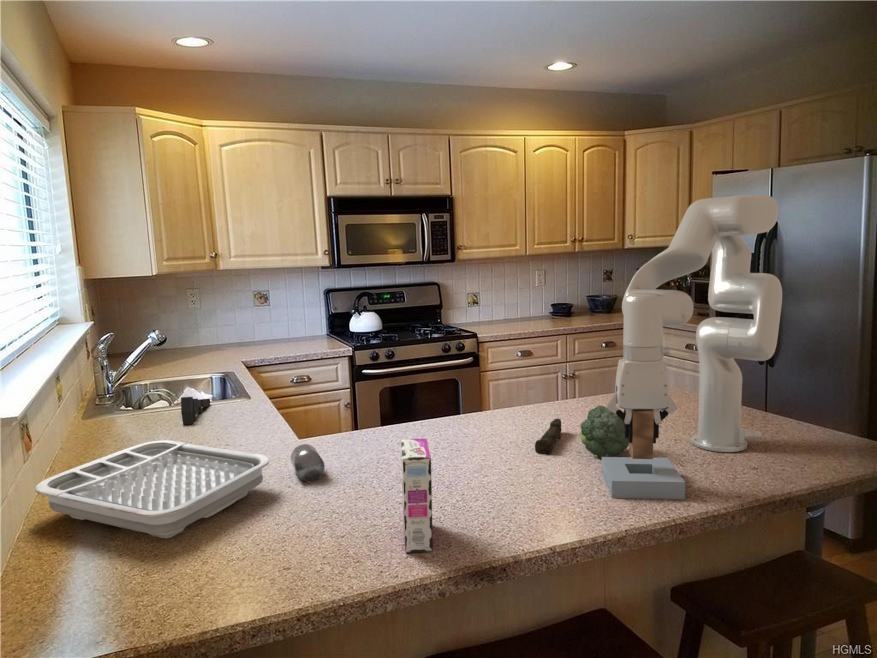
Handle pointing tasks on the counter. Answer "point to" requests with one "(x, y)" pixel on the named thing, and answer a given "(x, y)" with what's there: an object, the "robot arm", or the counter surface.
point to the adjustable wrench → (192, 408)
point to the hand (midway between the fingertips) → (640, 440)
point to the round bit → (307, 462)
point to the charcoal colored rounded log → (549, 438)
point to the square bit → (642, 434)
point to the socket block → (642, 478)
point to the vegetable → (603, 432)
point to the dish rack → (155, 486)
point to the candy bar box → (417, 495)
